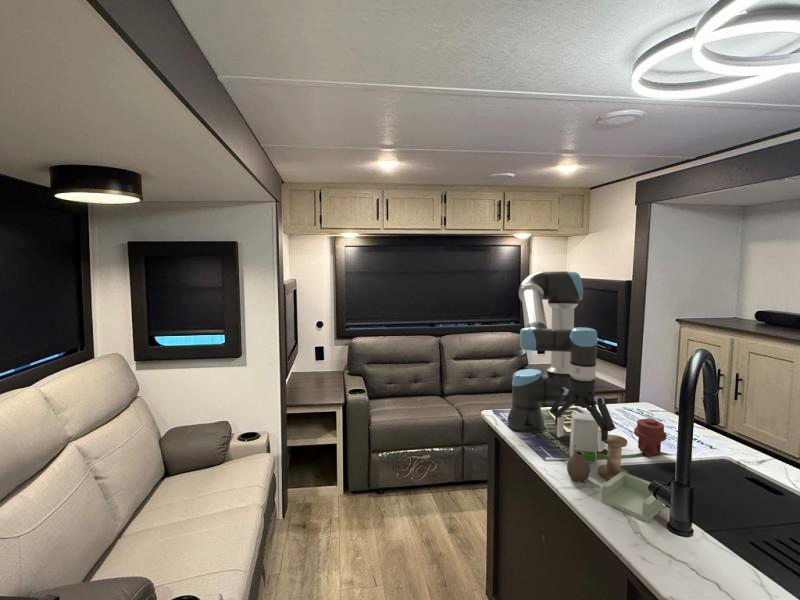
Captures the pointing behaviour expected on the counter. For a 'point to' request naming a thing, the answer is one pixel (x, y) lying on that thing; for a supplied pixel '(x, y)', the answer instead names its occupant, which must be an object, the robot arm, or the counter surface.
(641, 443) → the mechanical component
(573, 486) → the counter surface
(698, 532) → the counter surface
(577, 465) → the vase
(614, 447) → the bobbin
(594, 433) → the skincare box
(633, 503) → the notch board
